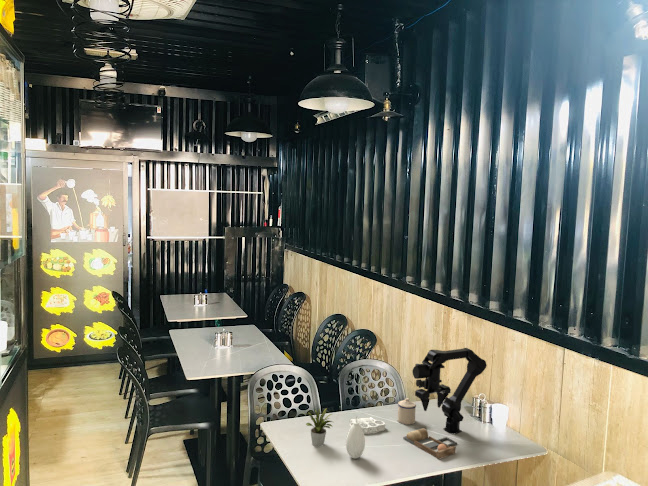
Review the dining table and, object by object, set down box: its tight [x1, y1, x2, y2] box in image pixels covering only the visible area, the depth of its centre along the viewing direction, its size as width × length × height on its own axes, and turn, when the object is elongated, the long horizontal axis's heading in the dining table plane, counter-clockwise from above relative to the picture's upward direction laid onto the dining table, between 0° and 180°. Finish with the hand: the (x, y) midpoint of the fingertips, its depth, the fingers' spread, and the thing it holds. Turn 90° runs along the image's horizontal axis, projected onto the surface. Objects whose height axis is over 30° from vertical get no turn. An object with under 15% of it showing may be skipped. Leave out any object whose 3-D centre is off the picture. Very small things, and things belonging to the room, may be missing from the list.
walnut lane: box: [414, 435, 457, 460], centre depth 229 cm, size 11×15×3 cm
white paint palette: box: [348, 416, 386, 435], centre depth 249 cm, size 3×18×15 cm
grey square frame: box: [437, 436, 458, 447], centre depth 236 cm, size 7×7×1 cm
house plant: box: [302, 407, 333, 448], centre depth 228 cm, size 14×14×16 cm
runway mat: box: [402, 435, 440, 450], centre depth 235 cm, size 10×14×1 cm
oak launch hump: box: [406, 427, 429, 442], centre depth 238 cm, size 9×5×5 cm, turn 125°
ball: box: [437, 444, 447, 451], centre depth 226 cm, size 4×4×4 cm
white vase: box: [345, 416, 366, 460], centre depth 218 cm, size 8×8×18 cm
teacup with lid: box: [397, 397, 417, 425], centre depth 260 cm, size 12×9×12 cm
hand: (432, 409), depth 245 cm, fingers open, 9 cm apart
